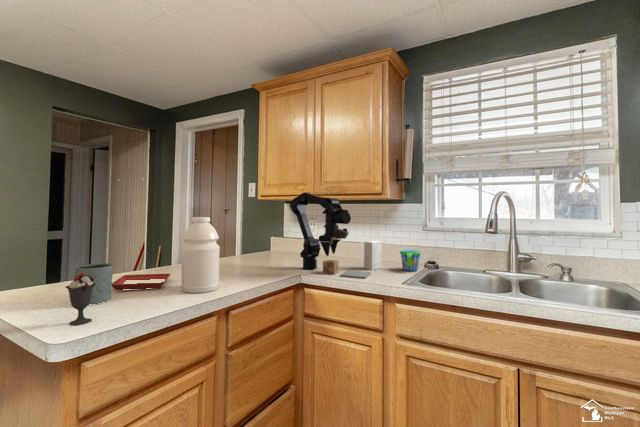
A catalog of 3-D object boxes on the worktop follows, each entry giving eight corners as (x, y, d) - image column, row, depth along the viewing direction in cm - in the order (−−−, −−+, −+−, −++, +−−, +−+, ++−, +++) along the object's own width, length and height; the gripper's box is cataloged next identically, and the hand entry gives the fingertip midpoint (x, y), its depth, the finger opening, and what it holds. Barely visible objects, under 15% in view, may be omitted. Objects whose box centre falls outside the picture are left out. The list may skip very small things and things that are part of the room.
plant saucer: (170, 280, 138) (170, 272, 138) (163, 290, 120) (163, 281, 120) (123, 282, 132) (123, 274, 132) (109, 293, 115) (109, 284, 115)
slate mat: (340, 276, 147) (340, 274, 147) (347, 271, 158) (347, 270, 158) (365, 278, 143) (365, 277, 143) (371, 273, 154) (371, 272, 154)
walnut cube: (322, 273, 153) (322, 261, 153) (326, 271, 159) (327, 259, 159) (334, 274, 151) (334, 262, 151) (338, 272, 157) (338, 260, 157)
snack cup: (403, 267, 174) (403, 248, 174) (423, 268, 169) (423, 250, 169) (396, 271, 160) (396, 252, 160) (417, 274, 155) (418, 253, 155)
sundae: (67, 328, 80) (67, 270, 80) (62, 322, 85) (62, 267, 85) (98, 322, 85) (98, 267, 85) (92, 316, 90) (92, 264, 90)
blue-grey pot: (106, 304, 100) (106, 267, 100) (69, 307, 98) (69, 269, 97) (117, 296, 110) (117, 262, 110) (83, 298, 107) (83, 263, 107)
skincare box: (373, 267, 173) (374, 240, 172) (382, 268, 168) (382, 241, 168) (363, 268, 167) (363, 241, 167) (371, 270, 163) (372, 242, 162)
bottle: (202, 295, 113) (202, 217, 112) (172, 291, 118) (173, 217, 117) (226, 286, 126) (227, 217, 126) (199, 283, 131) (199, 216, 130)
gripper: (340, 224, 143) (340, 258, 144) (351, 223, 161) (351, 253, 161) (318, 223, 147) (317, 256, 148) (331, 222, 165) (331, 251, 165)
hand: (330, 254), depth 155 cm, fingers open, 9 cm apart
